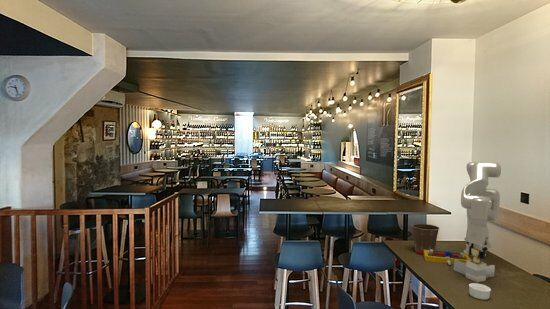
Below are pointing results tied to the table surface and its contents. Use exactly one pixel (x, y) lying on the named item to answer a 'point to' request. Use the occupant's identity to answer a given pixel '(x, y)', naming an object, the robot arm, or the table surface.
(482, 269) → the white corner connector
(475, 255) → the wooden bell shape
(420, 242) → the plant pot
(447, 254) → the mechanical clamp
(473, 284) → the ramekin
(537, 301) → the table surface
